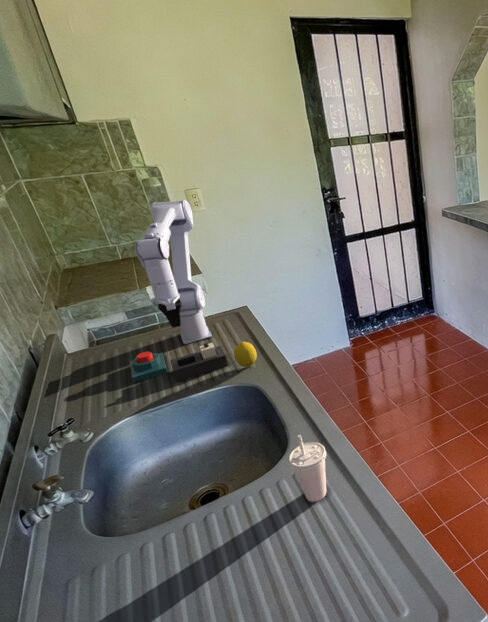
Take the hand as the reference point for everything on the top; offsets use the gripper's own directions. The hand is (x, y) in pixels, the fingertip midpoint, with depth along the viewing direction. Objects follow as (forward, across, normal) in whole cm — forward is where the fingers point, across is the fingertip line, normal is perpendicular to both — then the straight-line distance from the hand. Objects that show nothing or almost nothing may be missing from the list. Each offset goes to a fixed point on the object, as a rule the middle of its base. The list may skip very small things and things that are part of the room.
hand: (176, 326), depth 131 cm
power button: (+7, +2, -9) cm, 12 cm away
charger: (+10, +10, +5) cm, 16 cm away
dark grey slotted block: (+10, +10, +3) cm, 15 cm away
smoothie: (+14, +75, +13) cm, 78 cm away
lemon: (+11, +18, +14) cm, 25 cm away
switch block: (+10, +2, -9) cm, 14 cm away
